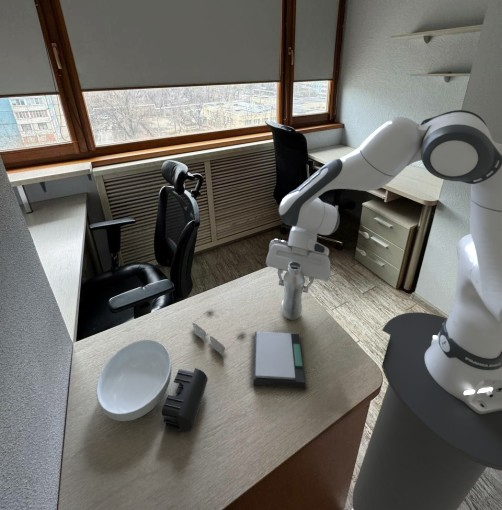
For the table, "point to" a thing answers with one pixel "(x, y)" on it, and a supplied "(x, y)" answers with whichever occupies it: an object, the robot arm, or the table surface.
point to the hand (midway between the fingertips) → (293, 289)
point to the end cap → (185, 400)
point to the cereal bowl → (134, 380)
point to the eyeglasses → (214, 342)
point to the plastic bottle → (293, 291)
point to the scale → (278, 360)
